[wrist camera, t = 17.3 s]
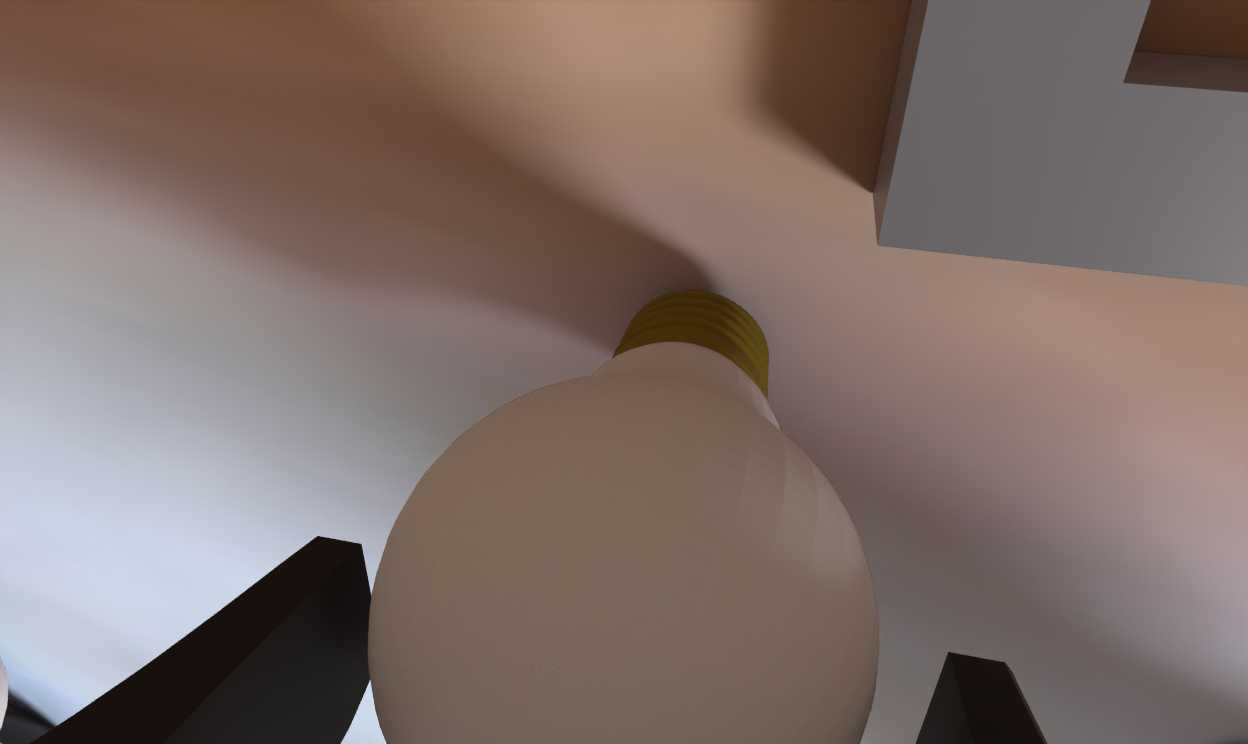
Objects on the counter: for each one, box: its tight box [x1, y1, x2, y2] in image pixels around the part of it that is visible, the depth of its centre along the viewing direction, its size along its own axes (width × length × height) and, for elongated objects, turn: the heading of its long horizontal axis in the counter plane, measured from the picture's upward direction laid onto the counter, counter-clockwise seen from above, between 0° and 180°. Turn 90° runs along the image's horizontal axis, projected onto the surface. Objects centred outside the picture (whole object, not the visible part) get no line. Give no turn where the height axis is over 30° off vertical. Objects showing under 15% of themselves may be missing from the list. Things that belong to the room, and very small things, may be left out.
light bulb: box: [368, 291, 879, 744], centre depth 12 cm, size 6×6×10 cm
